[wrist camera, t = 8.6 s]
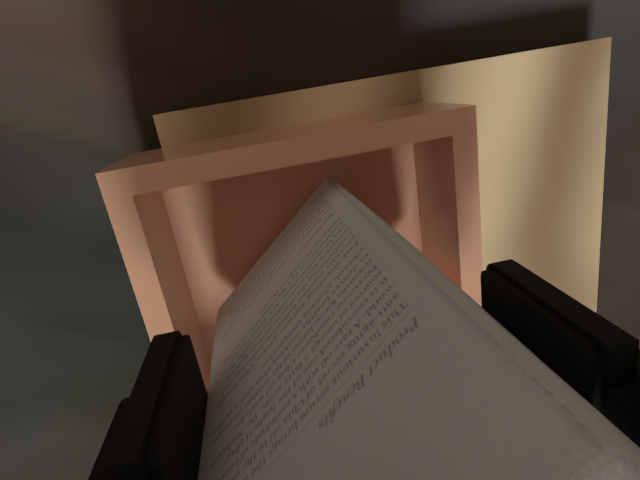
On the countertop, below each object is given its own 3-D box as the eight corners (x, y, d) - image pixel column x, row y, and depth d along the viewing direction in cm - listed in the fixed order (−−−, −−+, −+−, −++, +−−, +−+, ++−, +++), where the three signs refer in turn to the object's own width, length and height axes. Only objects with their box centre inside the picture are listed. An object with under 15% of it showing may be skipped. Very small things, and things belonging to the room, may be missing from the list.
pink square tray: (423, 101, 15) (476, 104, 12) (442, 345, 19) (488, 404, 15) (132, 153, 15) (94, 173, 11) (205, 400, 18) (195, 478, 14)
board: (587, 40, 17) (611, 37, 16) (576, 317, 21) (595, 330, 20) (159, 113, 15) (152, 115, 14) (236, 397, 19) (235, 416, 18)
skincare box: (311, 368, 17) (440, 952, 5) (215, 307, 15) (118, 912, 4) (421, 244, 16) (857, 634, 4) (329, 168, 14) (617, 448, 3)
